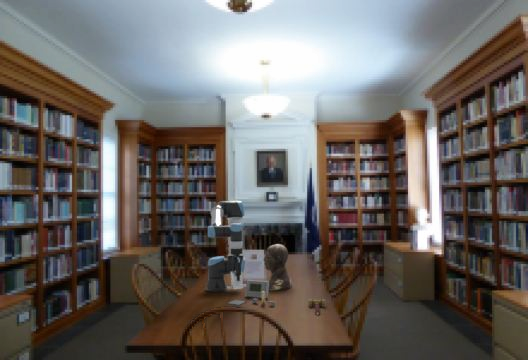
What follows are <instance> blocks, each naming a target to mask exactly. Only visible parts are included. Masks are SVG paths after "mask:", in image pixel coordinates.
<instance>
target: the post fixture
mask: <svg viewBox="0 0 528 360" xmlns="http://www.w3.org/2000/svg"><path fill="white" fill-rule="evenodd" d="M260 299H261V302H260V303H261V305H262V306H265V305H266V298H265V291H261V298H254V297H253V298H252V304H256V303H257V301H259V300H260ZM267 303H268V304H271V307H275V300H274V301H273V300H268V301H267Z"/></svg>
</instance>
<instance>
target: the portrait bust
mask: <svg viewBox="0 0 528 360" xmlns="http://www.w3.org/2000/svg"><path fill="white" fill-rule="evenodd" d="M288 257H289V251H288V249H287V247H286V246H284V245H283V244H280V243H276V244H272V245H270V246H268V247H267V249H266V251H265V256H264V257H263V261H264V266H265V269H266V270H268V271H269V272H270V274H271V275H270V276H269V279H268V280H267V281H269V291H282V290H283V289H284V290H287V289H288V290H289V289H290V288H291V287H292V279H291V275H290V273H289V270H288V267H286V264H287V262H288Z"/></svg>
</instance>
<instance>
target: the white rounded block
mask: <svg viewBox="0 0 528 360" xmlns="http://www.w3.org/2000/svg"><path fill="white" fill-rule="evenodd" d="M235 275H236V270H234V271H232V272H231V275H230V285H227V290H231V289H232V290H240V289H241V290H242V289H243V288H246V285H247V283H244V282H243V280H244V279H243V274H242V272H241V275H240V286H236V276H235ZM243 283H244V284H243Z"/></svg>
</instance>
